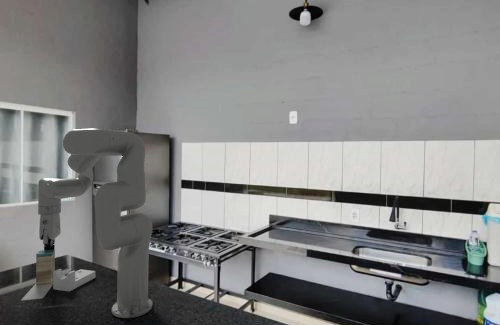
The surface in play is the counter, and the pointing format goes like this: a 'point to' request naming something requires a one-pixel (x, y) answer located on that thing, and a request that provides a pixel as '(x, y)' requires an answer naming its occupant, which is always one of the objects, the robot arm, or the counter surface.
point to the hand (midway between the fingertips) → (49, 255)
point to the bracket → (71, 279)
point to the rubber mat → (37, 292)
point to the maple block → (45, 267)
